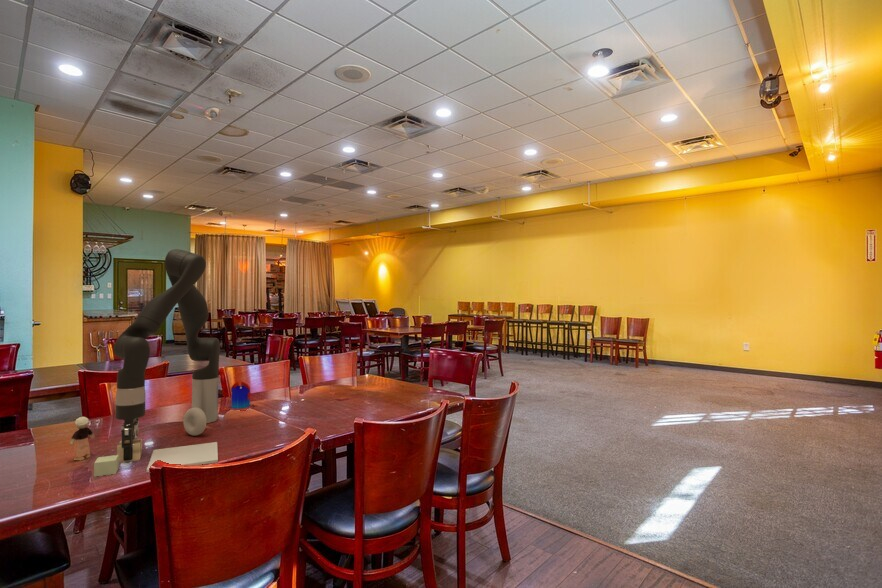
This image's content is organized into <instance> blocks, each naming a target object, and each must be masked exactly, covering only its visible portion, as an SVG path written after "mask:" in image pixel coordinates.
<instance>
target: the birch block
mask: <svg viewBox="0 0 882 588" xmlns="http://www.w3.org/2000/svg"><path fill="white" fill-rule="evenodd" d="M126 443H130V440H126ZM133 444H134V446H133V458H132V460H128V461H124V460H123V454H124V449H123V448H122V447H121V445H122V440H119V443H118V444H117V446H116V455H119V463H118V464H122V463H129V461H130V462H136V461H140V460H141V456H142V455H143V438H137V439H134V441H133Z"/></svg>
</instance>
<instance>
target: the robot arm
mask: <svg viewBox="0 0 882 588" xmlns="http://www.w3.org/2000/svg"><path fill="white" fill-rule="evenodd" d="M206 263H207V262H206V260H205V258H204V256H202V255H200V254H197V253H194V252H191V251H187V250H183V249H179V248H175V249H171V250H169V251H168V252H167V254H166V255H165V259H164V268H165V272H166V274H167V277H168V279H169V282H170V284H171V286H170V287H169V288H168V289H166V290H165V291H162V292H161V293H159V294H157V295H156V296H154V297H153V298H152V299H150V300H149V301H148V302H147V303H146V304H145V305H144V307H143V308H142V310H141V311H140V312H139V313H138V315H137V317H136V318H135V320H134V321H133V322H132V323H131V324H130V325H129V326H128V327H127V328H126V329H125V330H124V331H122V333H121V334H119V336H118V337H117V338H116V340H115V342H114V344H113V345H114V346H113V354H115V356H116V357H118V358H120V359H123V366H122V368H120V369H118V371H117V374H116V391H115V404H114V405H115V409H114V410H115V411H114V413H115V416H114V417H115V419H116V420H119V421H120V420H121V421H122V420H123V423H122V424H121V429H120V432H121V441H122V445H121V447H122V448H123V449H124V454H123V460H124V461H128V460H132V458H133V446H134V444H133V441H134V439H138V437H139V434H138V433H139V425H140V422H139V418H143V417H144V416H145V414H146V388H145V385H146V384H145V383H146V382H145V381H146V373H145V372H146V370H147V366H148V363H149V359H150V354H151V347H150V343H149V341H147V338H148V337H150V336H151V335H154V334H156V333H158V331H159V330H160V329H161V328H162V325H164V322H165V320H166V319H167V317H168V316H169V315H170V313H171V312H172V310H173V309H174V308H175V307H176V306H177V305H178V306H177V307H178V312H179V316H180V319H181V322H182V325H183V326H182V327H183V330H184V334H185V341H186V347H187V354H188V357H189V359H190V360H191V361H194V362H206V361H207V362H208V364H207V365H205V366H203V367H202V368H199V369H196V370H194V371H193V372H192V374H191V375H192V380H191V381H192V383H191V384H192V385H191V390H192V391H191V408H195V407H197V408H200V409H201V410H202V411H203V412H204V413H205V416H206V421H207V423H206V424H209V423H214V422H216V421H218V417H219V416H218V415H219V410H218V409H219V369H220V368H219V366H220V354H221V353H220V352H221V351H220V350H221V343H220V340H219V338H217V337H198V334H199V332H200V331H201V330H202V328H203V327H204V326H205V324H206V323H207V321H208V319H209V315H210V313H209V312H210V311H209V307H208V303H207V300H206V298H205V297H204V295H203V294H202V293H201V292H200V290H199V289H198V288H197V287H196V286H195V284H196V283H197V282H198V281H199V280H200V278H201V277H202V276H203V274H204V272H205V270H206V268H207V267H206V266H207V264H206ZM194 423H195V425H196V420H195V418H194ZM126 440H130V443H126Z"/></svg>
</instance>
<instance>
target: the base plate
mask: <svg viewBox="0 0 882 588" xmlns="http://www.w3.org/2000/svg"><path fill="white" fill-rule="evenodd" d="M218 452H219V451H218V441H215V442H213V441H212V442H205V443H199V444H197V443H196V444H191V445H183V446H172V447H165V448H159V449H153V451H152V454H151V456H150V459H149V462H148V465H147V468H146V473H150V472H149V468H150V466H151V465H152V464H153V463H154V462H155V461H157V460H161V461H163V462H166V463H169V464H181V465H196V466H201V465H202V464H203V465H210V464H216V463H218V462H219V453H218Z"/></svg>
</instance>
